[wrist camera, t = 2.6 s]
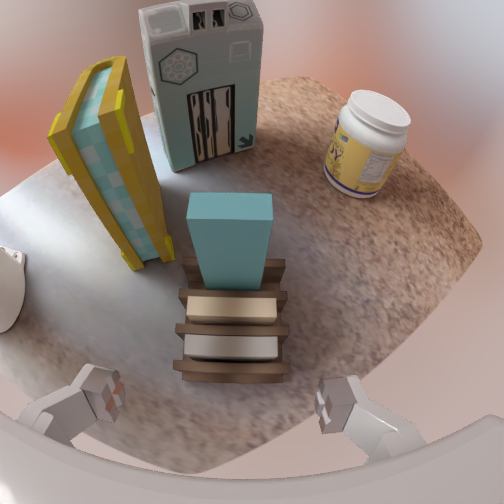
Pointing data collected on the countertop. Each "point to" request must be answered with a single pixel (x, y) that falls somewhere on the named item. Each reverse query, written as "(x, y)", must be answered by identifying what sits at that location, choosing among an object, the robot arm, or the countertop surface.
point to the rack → (234, 329)
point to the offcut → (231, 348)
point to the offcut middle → (231, 311)
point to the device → (203, 76)
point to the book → (113, 160)
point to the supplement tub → (366, 143)
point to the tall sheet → (230, 237)
